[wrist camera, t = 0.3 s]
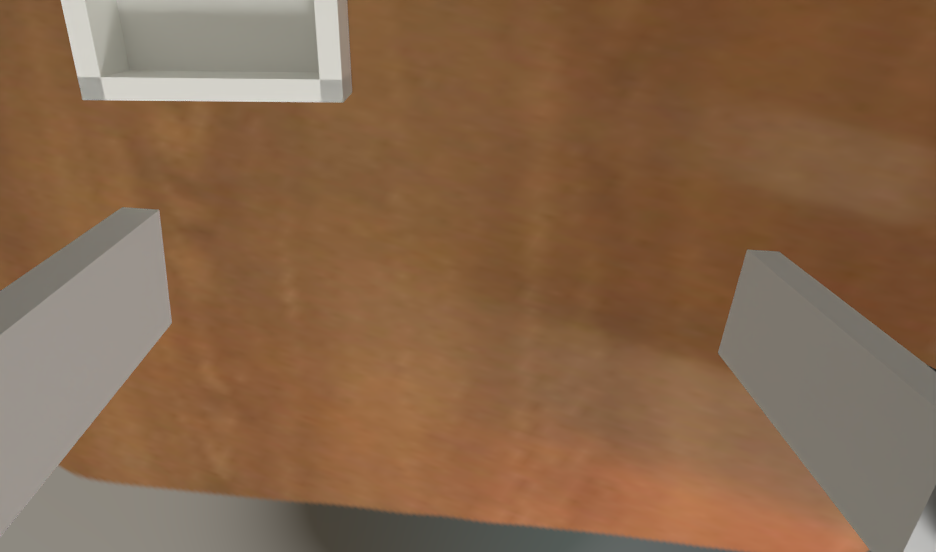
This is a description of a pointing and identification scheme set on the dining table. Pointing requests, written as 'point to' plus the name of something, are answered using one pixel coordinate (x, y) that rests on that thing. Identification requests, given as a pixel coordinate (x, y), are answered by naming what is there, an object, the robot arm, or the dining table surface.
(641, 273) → the dining table surface
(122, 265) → the robot arm
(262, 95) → the box
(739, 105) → the dining table surface
